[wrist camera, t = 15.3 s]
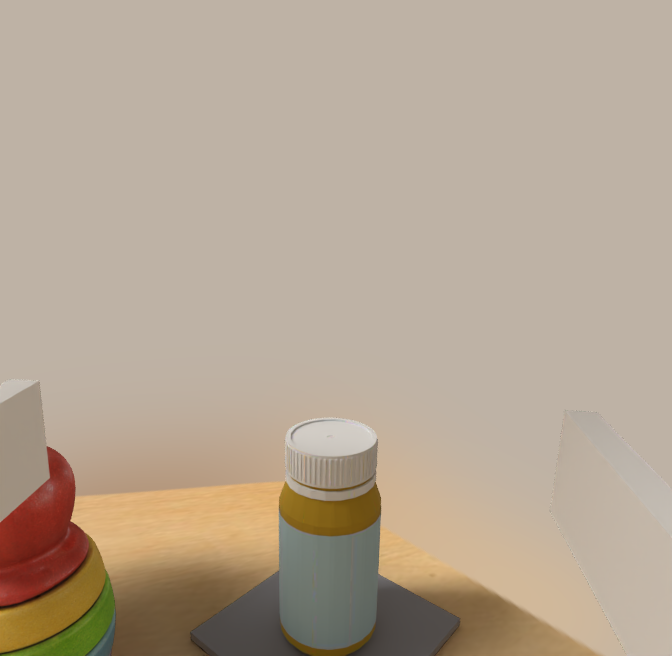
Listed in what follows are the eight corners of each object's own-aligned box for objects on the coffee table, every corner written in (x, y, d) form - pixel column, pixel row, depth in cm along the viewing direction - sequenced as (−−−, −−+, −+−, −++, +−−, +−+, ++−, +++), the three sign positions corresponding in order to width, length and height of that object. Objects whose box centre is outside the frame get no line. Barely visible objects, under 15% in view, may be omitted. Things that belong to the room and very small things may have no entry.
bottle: (344, 581, 45) (348, 408, 42) (394, 640, 39) (405, 445, 36) (264, 611, 42) (262, 426, 38) (307, 681, 36) (309, 470, 32)
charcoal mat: (190, 639, 40) (190, 632, 40) (319, 548, 50) (319, 542, 50) (342, 767, 31) (342, 759, 31) (459, 625, 42) (460, 618, 41)
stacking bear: (-57, 683, 36) (-101, 427, 32) (111, 629, 40) (92, 400, 36) (-88, 856, 26) (-158, 527, 22) (134, 762, 31) (111, 474, 27)
